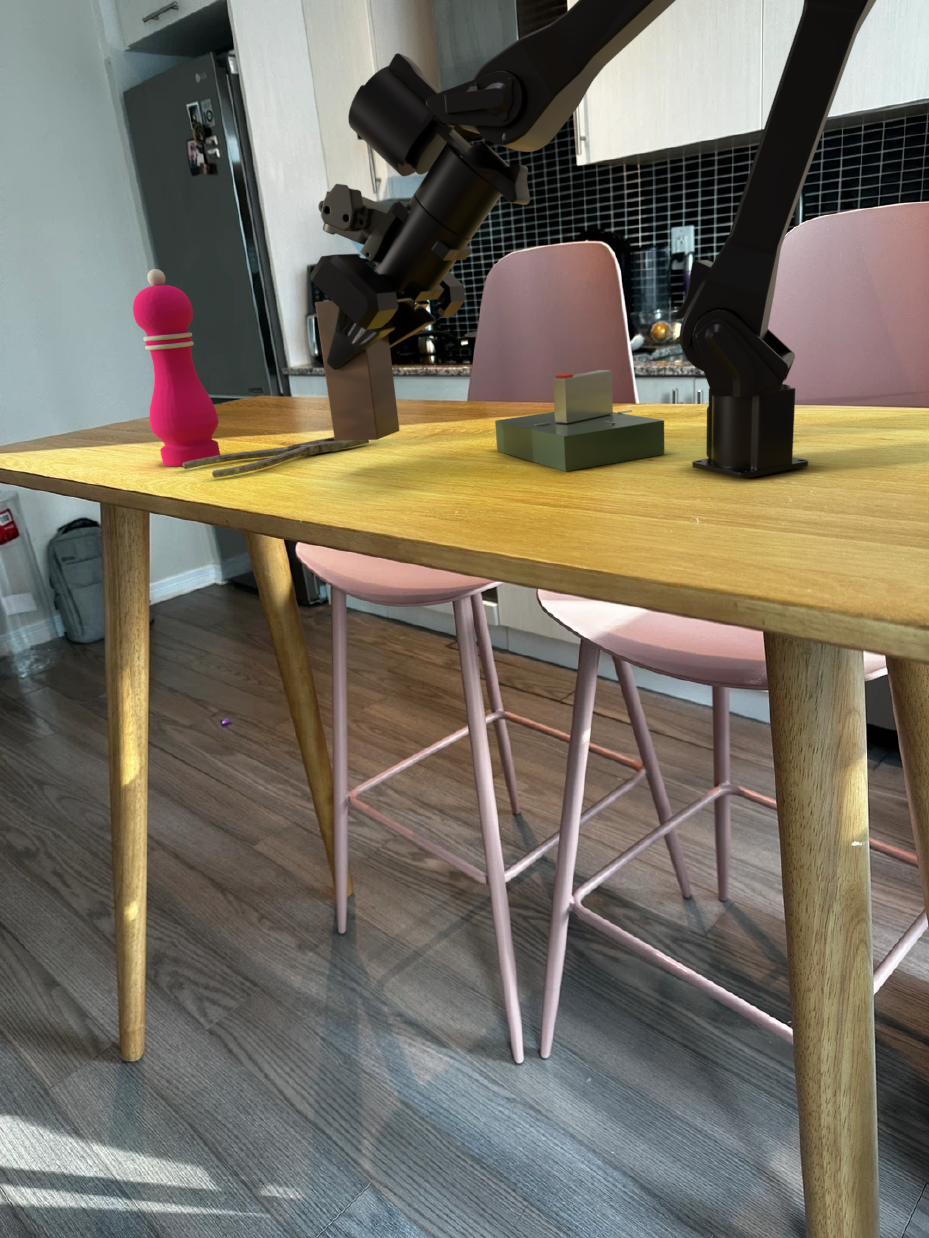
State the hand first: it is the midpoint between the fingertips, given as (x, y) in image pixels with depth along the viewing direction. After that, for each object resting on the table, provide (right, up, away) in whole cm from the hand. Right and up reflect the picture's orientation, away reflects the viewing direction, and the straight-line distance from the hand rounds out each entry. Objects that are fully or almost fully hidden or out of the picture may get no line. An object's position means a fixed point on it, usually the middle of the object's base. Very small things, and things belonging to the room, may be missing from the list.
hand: (344, 363), depth 80 cm
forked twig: (-10, -6, +15) cm, 19 cm away
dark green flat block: (+21, -8, +3) cm, 23 cm away
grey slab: (+22, -5, +2) cm, 23 cm away
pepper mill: (-20, -6, +18) cm, 27 cm away
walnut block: (+2, -6, +2) cm, 7 cm away
